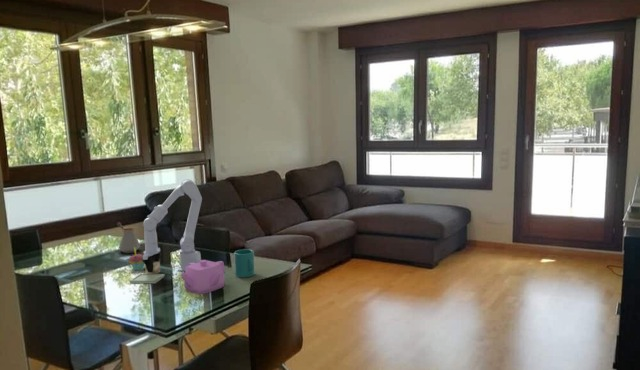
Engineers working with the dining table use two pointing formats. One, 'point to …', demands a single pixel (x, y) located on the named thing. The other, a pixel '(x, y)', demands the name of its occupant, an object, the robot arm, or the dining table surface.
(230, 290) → the dining table surface
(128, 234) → the coffee pot
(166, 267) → the dining table surface
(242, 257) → the cup
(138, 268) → the cupcake
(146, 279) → the grey green picture frame
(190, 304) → the dining table surface
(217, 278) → the pink lidded box
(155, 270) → the maple cube
